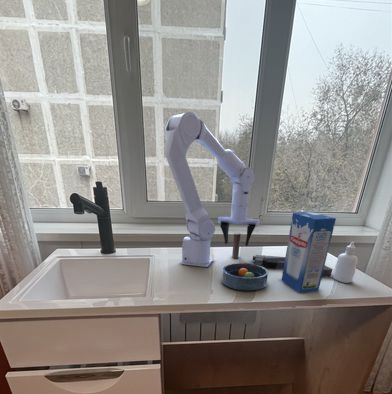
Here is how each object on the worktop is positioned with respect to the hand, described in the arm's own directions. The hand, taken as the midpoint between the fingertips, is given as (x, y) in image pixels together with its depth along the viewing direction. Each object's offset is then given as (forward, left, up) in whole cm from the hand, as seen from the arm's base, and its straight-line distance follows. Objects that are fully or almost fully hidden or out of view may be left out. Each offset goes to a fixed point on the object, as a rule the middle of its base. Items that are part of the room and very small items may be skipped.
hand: (236, 244), depth 106 cm
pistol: (+20, -6, -5) cm, 22 cm away
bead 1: (+6, -22, -3) cm, 23 cm away
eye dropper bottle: (+36, -12, -5) cm, 38 cm away
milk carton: (+23, -21, -5) cm, 32 cm away
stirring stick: (0, 0, -5) cm, 5 cm away
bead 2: (+8, -25, -3) cm, 26 cm away
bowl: (+7, -25, -5) cm, 26 cm away
